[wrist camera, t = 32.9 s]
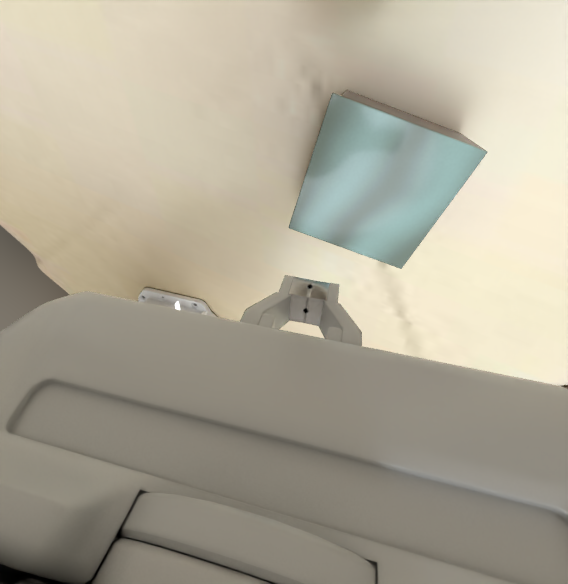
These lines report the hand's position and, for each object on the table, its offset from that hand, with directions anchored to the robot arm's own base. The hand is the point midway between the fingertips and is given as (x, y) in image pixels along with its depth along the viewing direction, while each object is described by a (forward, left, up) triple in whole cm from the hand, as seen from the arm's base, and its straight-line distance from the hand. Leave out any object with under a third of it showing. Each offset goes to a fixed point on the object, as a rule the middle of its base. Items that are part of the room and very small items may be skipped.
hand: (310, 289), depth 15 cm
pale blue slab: (+4, 0, -19) cm, 19 cm away
